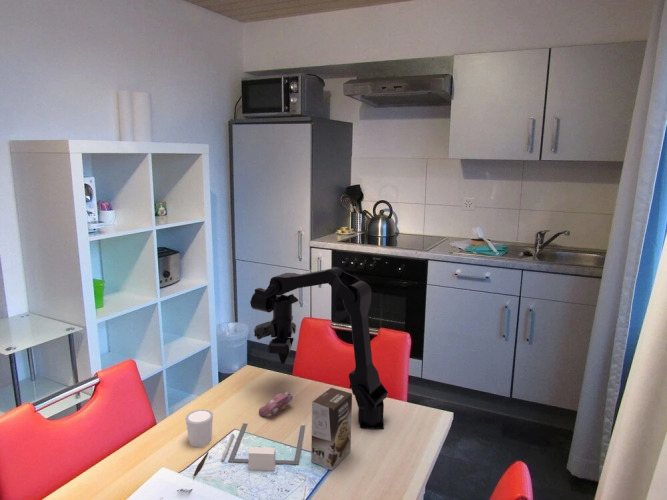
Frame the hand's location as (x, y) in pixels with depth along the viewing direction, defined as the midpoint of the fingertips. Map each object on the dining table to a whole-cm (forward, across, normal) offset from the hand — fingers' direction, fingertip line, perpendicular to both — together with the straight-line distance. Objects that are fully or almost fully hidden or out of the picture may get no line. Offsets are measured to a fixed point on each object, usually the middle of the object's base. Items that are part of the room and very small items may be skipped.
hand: (283, 363), depth 147 cm
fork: (+11, +39, -15) cm, 43 cm away
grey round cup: (+10, +26, -18) cm, 33 cm away
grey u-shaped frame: (+10, +27, -1) cm, 29 cm away
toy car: (+10, +11, 0) cm, 15 cm away
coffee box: (+10, +31, +16) cm, 36 cm away
